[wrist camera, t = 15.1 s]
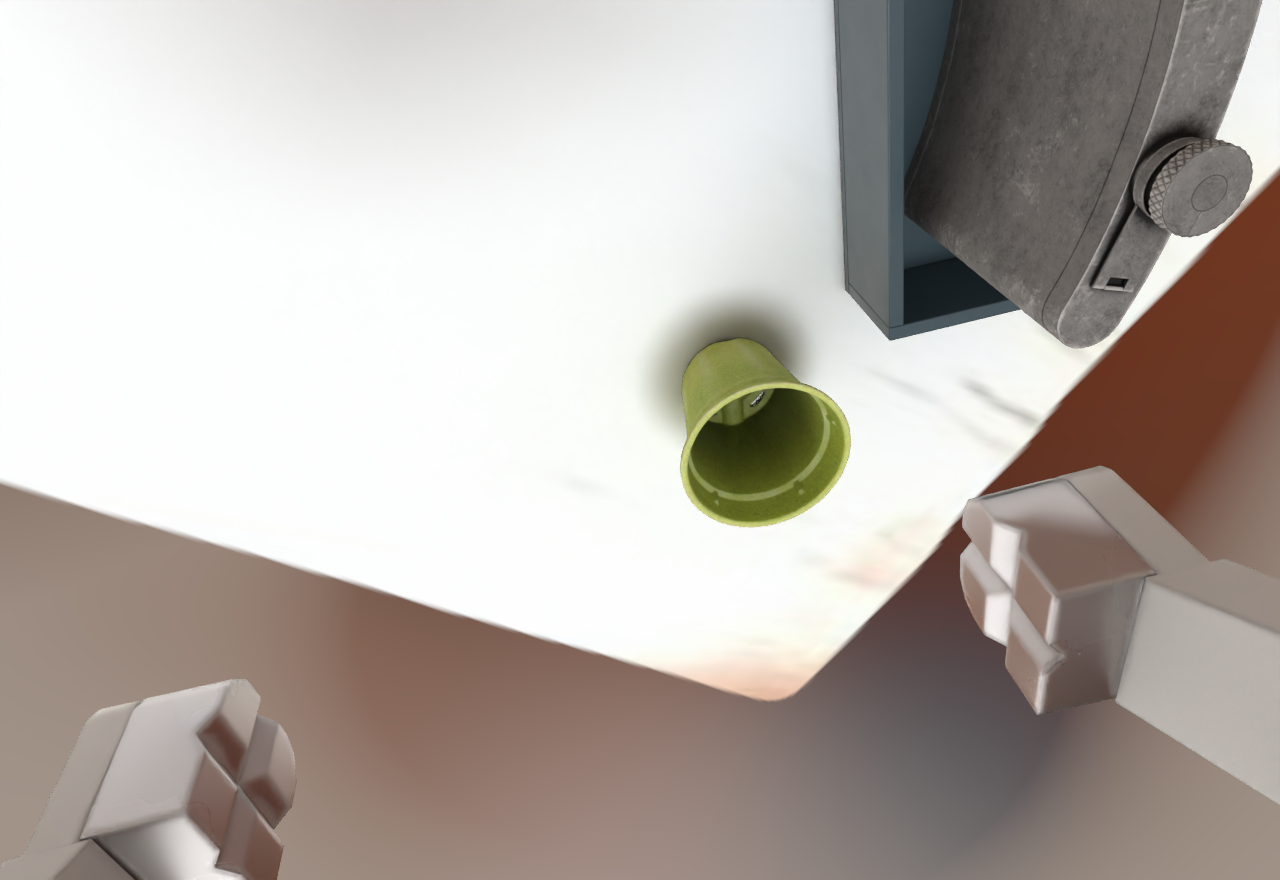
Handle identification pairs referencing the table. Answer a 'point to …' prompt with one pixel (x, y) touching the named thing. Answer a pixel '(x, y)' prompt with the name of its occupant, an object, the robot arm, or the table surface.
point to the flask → (1080, 147)
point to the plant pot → (757, 437)
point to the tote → (896, 169)
